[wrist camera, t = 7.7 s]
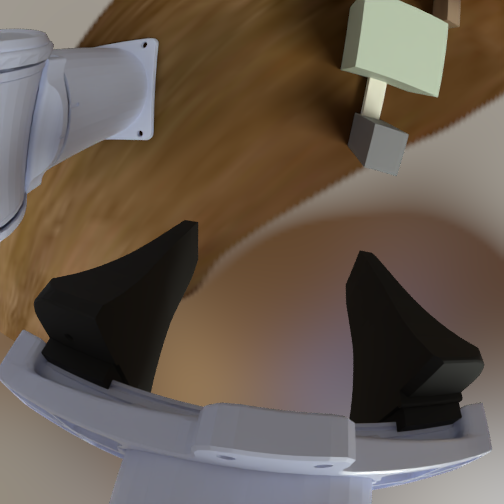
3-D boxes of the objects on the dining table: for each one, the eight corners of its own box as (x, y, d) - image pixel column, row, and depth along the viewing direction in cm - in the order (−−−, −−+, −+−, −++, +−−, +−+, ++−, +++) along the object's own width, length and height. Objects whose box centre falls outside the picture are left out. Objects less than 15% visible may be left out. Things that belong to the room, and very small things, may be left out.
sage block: (349, 7, 12) (368, -14, 8) (417, 31, 11) (452, 22, 7) (326, 140, 18) (337, 160, 14) (391, 158, 17) (418, 183, 13)
